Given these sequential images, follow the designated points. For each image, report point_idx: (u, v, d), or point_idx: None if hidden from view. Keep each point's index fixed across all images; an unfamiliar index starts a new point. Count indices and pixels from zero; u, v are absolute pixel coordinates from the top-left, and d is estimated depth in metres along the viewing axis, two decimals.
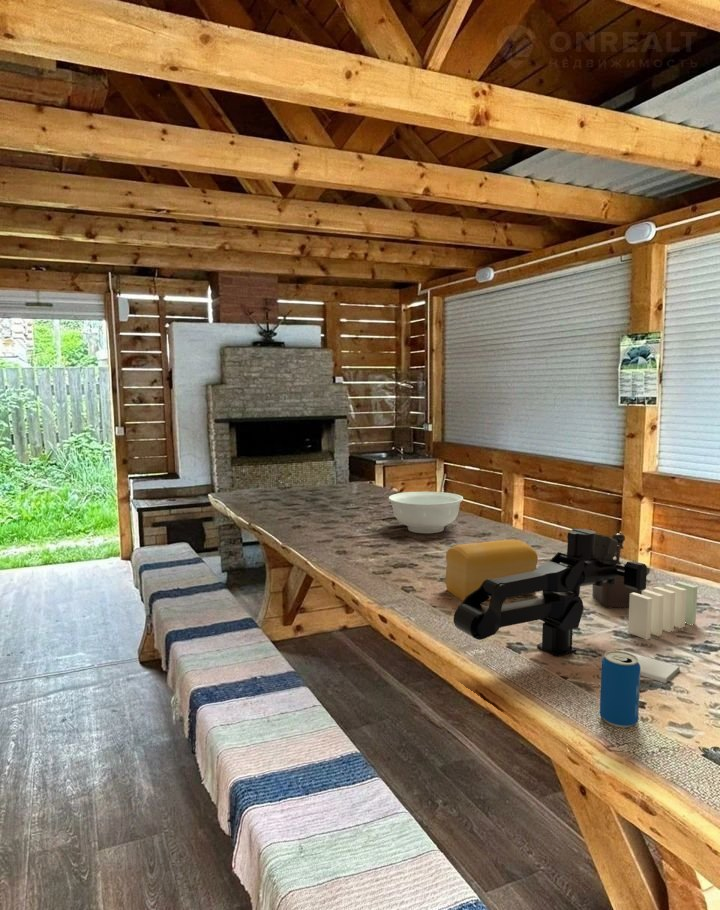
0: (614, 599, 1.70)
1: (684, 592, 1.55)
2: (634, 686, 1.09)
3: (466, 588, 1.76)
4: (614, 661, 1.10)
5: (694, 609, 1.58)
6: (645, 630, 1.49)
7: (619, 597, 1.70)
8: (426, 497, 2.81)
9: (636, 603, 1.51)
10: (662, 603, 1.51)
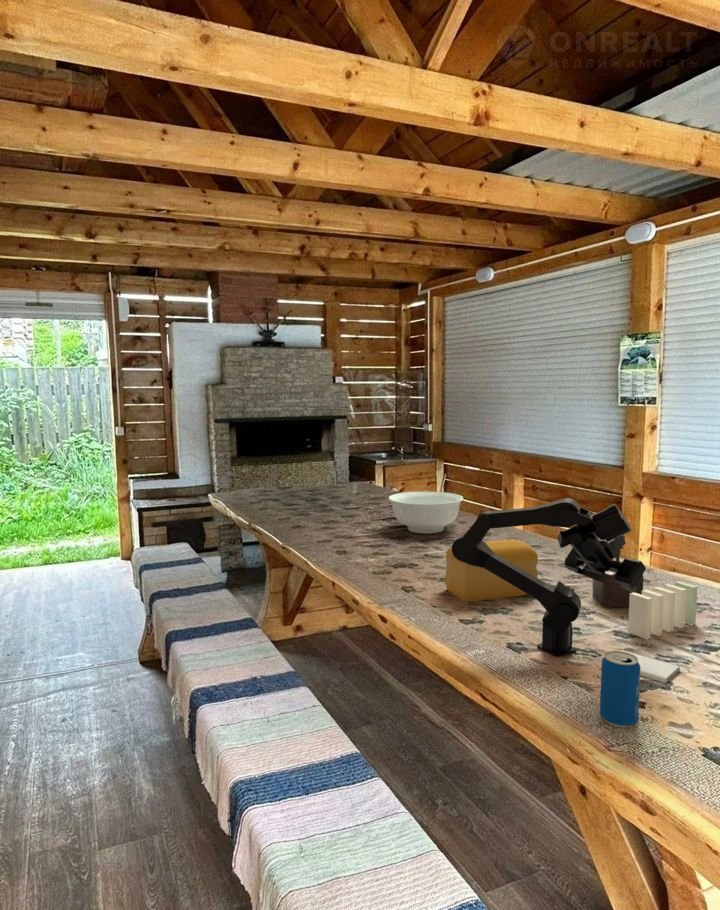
0: (614, 599, 1.70)
1: (684, 592, 1.55)
2: (634, 686, 1.09)
3: (464, 588, 1.76)
4: (614, 661, 1.10)
5: (694, 609, 1.58)
6: (645, 630, 1.49)
7: (619, 597, 1.70)
8: (426, 497, 2.81)
9: (636, 603, 1.51)
10: (662, 603, 1.51)
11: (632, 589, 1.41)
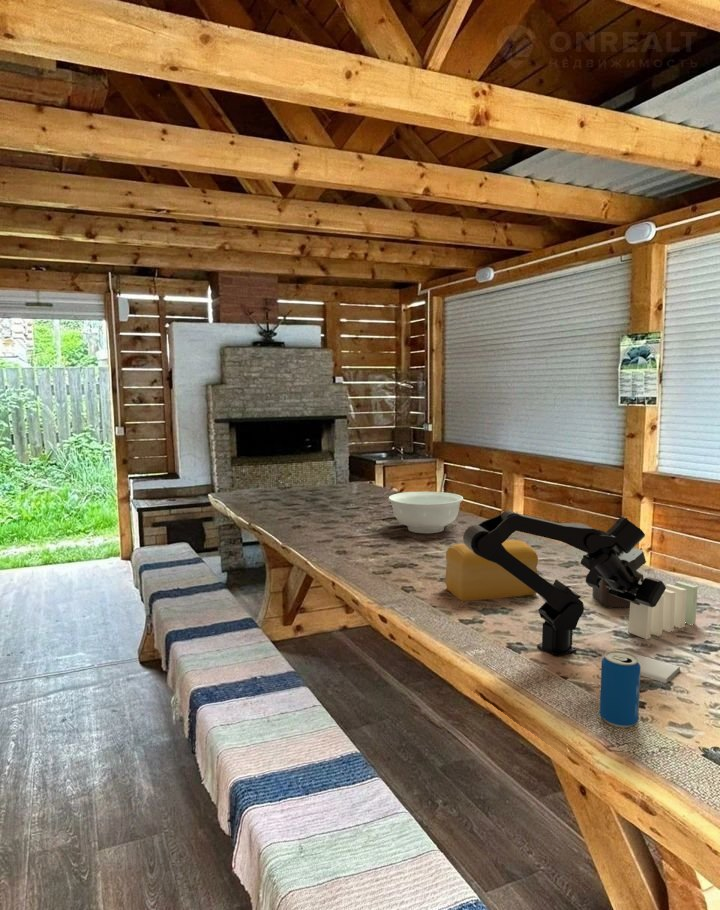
0: (614, 599, 1.70)
1: (684, 592, 1.55)
2: (634, 686, 1.09)
3: (462, 587, 1.77)
4: (614, 661, 1.10)
5: (694, 609, 1.58)
6: (645, 630, 1.49)
7: None
8: (426, 497, 2.81)
9: None
10: (662, 603, 1.51)
11: (637, 602, 1.49)
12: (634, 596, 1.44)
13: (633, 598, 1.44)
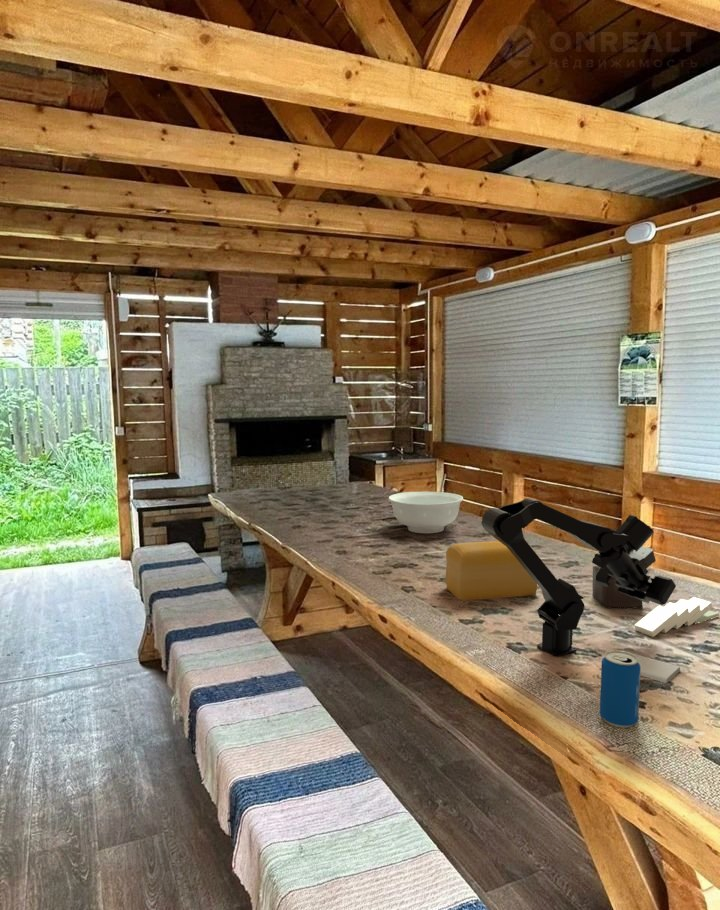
0: (614, 599, 1.70)
1: (710, 606, 1.61)
2: (634, 686, 1.09)
3: (460, 587, 1.77)
4: (614, 661, 1.10)
5: (705, 619, 1.61)
6: (656, 626, 1.51)
7: (619, 597, 1.70)
8: (426, 497, 2.81)
9: (661, 611, 1.56)
10: (684, 615, 1.56)
11: (646, 600, 1.50)
12: (644, 594, 1.46)
13: (643, 596, 1.46)
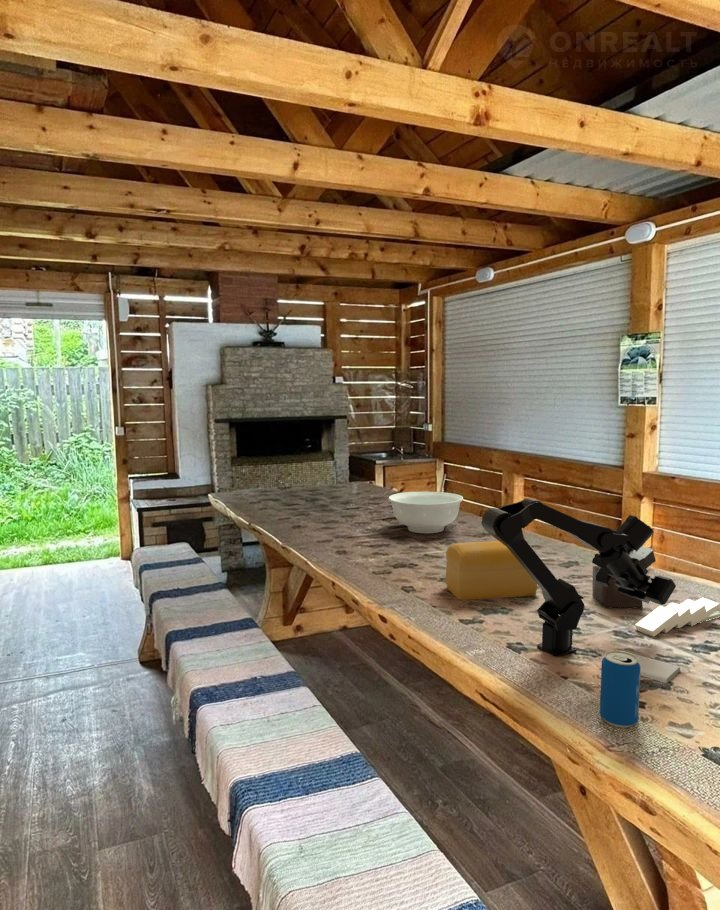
0: (614, 599, 1.70)
1: (717, 607, 1.60)
2: (634, 686, 1.09)
3: (459, 586, 1.78)
4: (614, 661, 1.10)
5: (707, 619, 1.61)
6: (656, 626, 1.52)
7: (619, 597, 1.70)
8: (426, 497, 2.81)
9: (662, 611, 1.56)
10: (685, 615, 1.56)
11: (646, 600, 1.50)
12: (644, 594, 1.46)
13: (643, 596, 1.46)
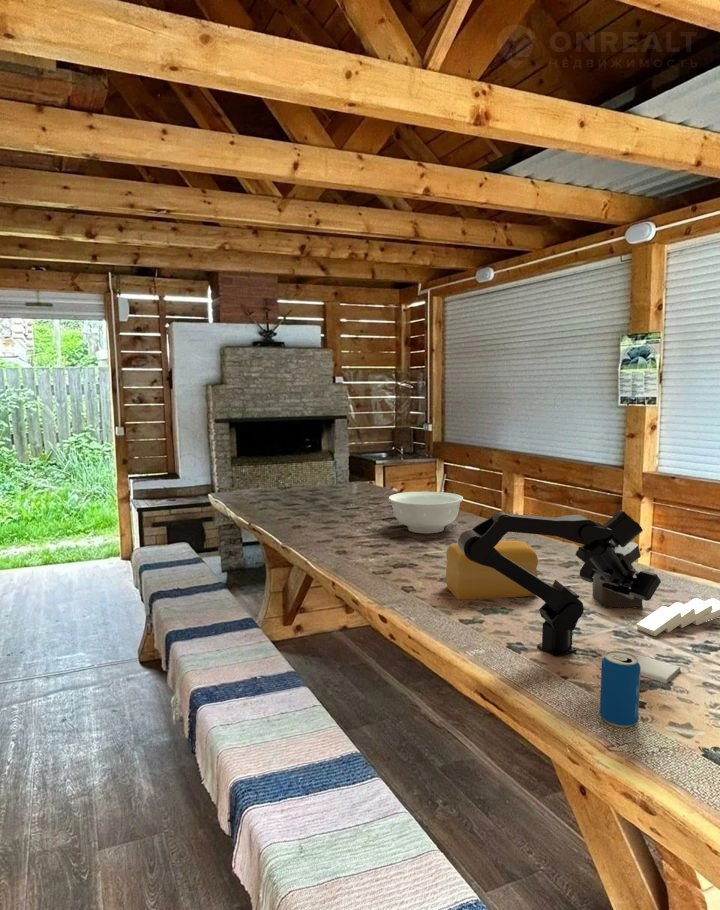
0: (614, 599, 1.70)
1: None
2: (634, 686, 1.09)
3: (458, 586, 1.78)
4: (614, 661, 1.10)
5: None
6: (658, 626, 1.52)
7: (619, 597, 1.70)
8: (426, 497, 2.81)
9: (664, 611, 1.56)
10: (689, 615, 1.56)
11: (630, 596, 1.48)
12: (628, 590, 1.44)
13: (627, 592, 1.43)
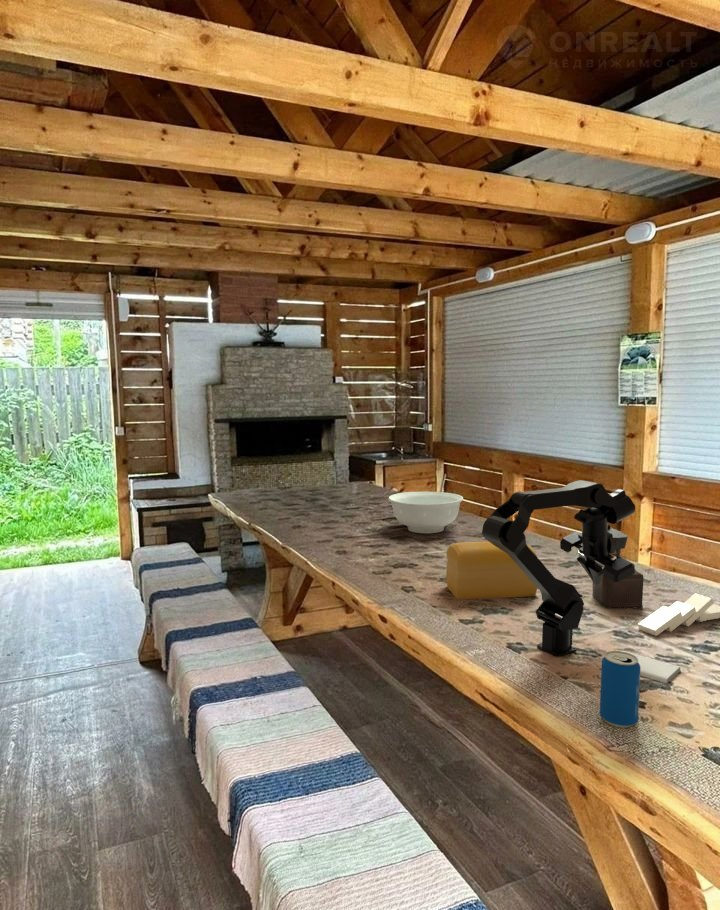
0: (614, 599, 1.70)
1: None
2: (634, 686, 1.09)
3: (457, 585, 1.78)
4: (614, 661, 1.10)
5: None
6: (659, 625, 1.52)
7: (619, 597, 1.70)
8: (426, 497, 2.81)
9: (665, 611, 1.57)
10: (690, 614, 1.57)
11: (597, 579, 1.50)
12: (600, 569, 1.46)
13: (599, 570, 1.46)
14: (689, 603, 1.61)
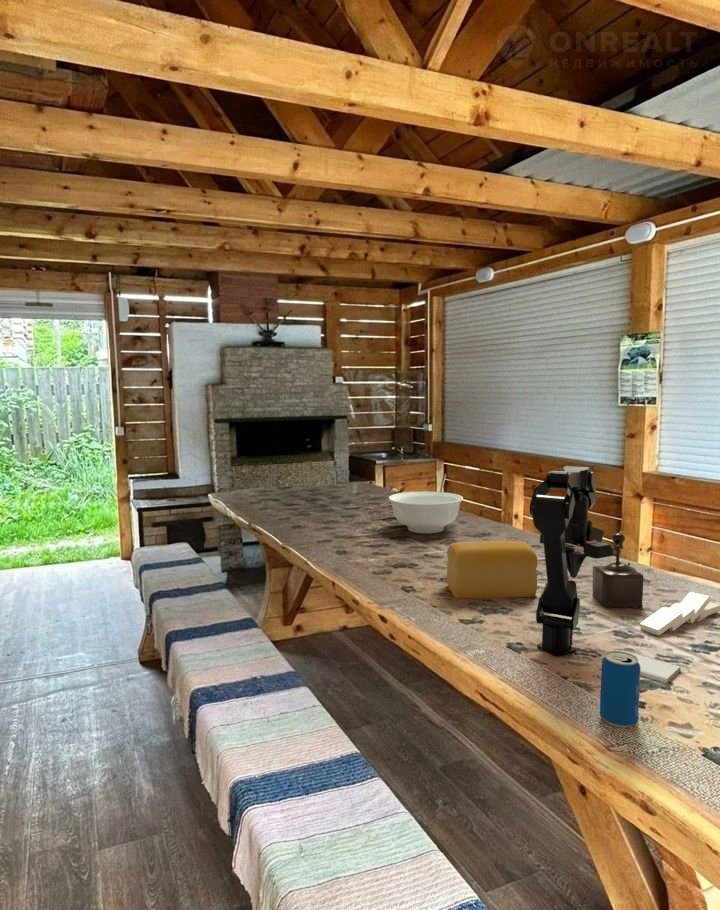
0: (614, 599, 1.70)
1: (719, 608, 1.66)
2: (634, 686, 1.09)
3: (456, 585, 1.79)
4: (614, 661, 1.10)
5: None
6: (662, 625, 1.52)
7: (619, 597, 1.70)
8: (426, 497, 2.81)
9: (666, 612, 1.57)
10: (690, 615, 1.58)
11: (574, 570, 1.55)
12: (580, 553, 1.52)
13: (578, 554, 1.51)
14: (688, 601, 1.64)
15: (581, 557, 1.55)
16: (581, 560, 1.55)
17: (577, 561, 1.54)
